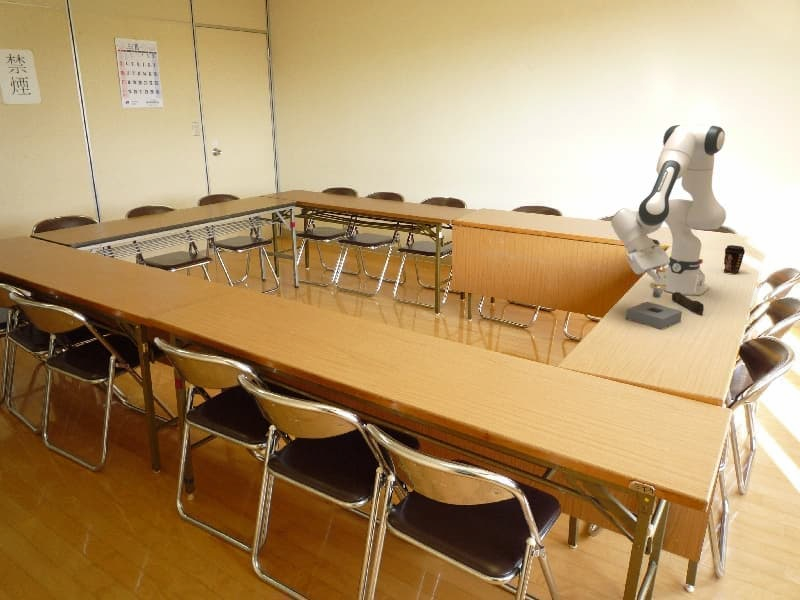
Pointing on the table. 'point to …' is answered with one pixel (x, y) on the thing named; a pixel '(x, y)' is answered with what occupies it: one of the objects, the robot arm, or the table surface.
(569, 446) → the table surface
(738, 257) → the coffee cup
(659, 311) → the block
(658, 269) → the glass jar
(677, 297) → the hand tool
